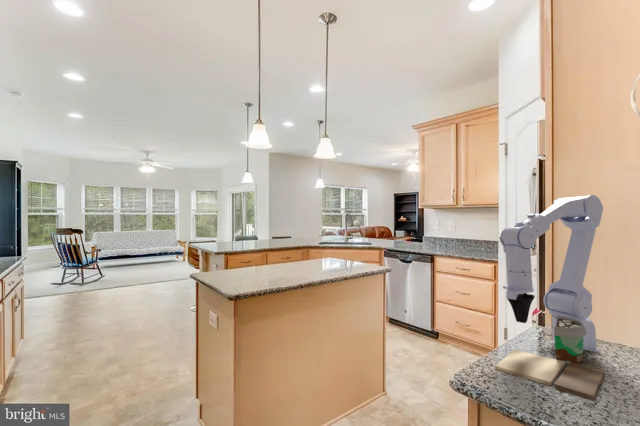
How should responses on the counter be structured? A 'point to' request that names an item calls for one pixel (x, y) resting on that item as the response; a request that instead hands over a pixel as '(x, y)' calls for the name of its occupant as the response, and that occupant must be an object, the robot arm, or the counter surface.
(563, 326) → the food container
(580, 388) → the walnut board
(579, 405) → the counter surface
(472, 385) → the counter surface
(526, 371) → the oak plank
